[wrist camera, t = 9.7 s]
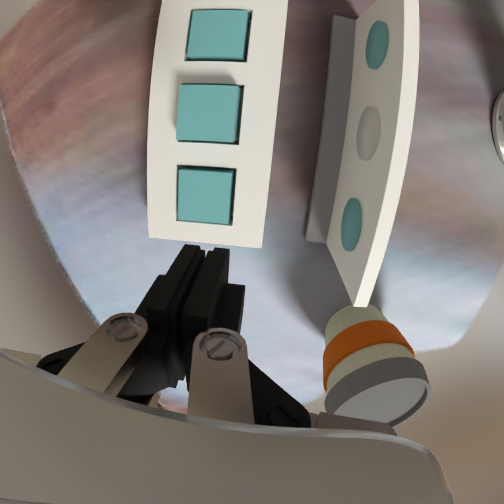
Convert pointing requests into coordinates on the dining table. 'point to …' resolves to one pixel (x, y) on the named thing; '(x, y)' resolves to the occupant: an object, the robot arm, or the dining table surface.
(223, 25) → the button
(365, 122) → the pattern sign
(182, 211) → the button
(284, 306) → the dining table surface
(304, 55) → the dining table surface
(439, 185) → the dining table surface
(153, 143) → the button board
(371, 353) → the reusable coffee cup
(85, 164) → the dining table surface
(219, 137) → the button
